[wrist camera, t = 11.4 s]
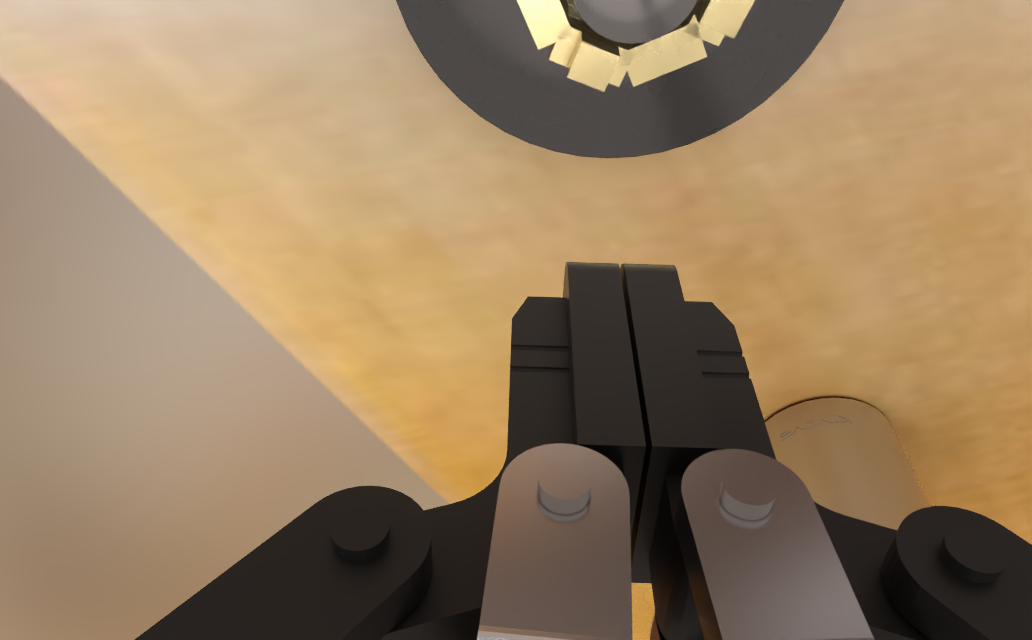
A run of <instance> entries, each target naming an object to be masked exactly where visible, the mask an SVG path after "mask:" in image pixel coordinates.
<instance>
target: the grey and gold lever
mask: <svg viewBox="0 0 1032 640" xmlns="http://www.w3.org/2000/svg"><path fill="white" fill-rule="evenodd" d="M754 1H755V0H697V3H696V4H695V6H694V8H693V9H692V11H691V12H690V14H689V15H688V16H687V17H686V19H685V20H684V21H683V22H682V23H681V24H680V25H679V26H677V27H676V28H675V29H674V30H672V31H671V32H669V33H667V34H666V35H664V36H662V37H660V38H657V39H655V40H652V41H648V42H643V43H632V44H631V43H621V42H617V41H613V40H610V39H608V38H606V37H604V36H602V35H600V34H598V33H597V32H596V31H594V30H593V29H592V28H591V27H590V26H589V25H588V24H587V23H586V22H585V21H584V20H583V18H582V17H581V15H580V14H579V12H578V10H577V8H576V6H575V3H574V0H517V2H518V4H519V6H520V8H521V11H522V13H523V15H524V18H525V20H526V22H527V25H528V27H529V29H530V32H531V34H532V36H533V39H534V41H535V43H536V46H537V48H538V50H539V49H541V48H544V47H546V46H548V56H549V60H551V61H553V62H556V63H558V64H561V65H563V66H566V74H567V78H570V79H572V80H575V81H577V82H580V83H583V84H585V85H588V86H590V87H593V88H595V89H598V90H601V91H603V92H604V91H605V89H606V87H607V85H608V83H610V84H612V85H615V86H617V87H619V86H620V84H621V82H622V80H623V78H624V76H625V74H626V71H628V74H629V77H630V79H631V82H632V85H633V87H634V86H637V85H639V84H642V83H644V82H647V81H649V80H652V79H654V78H656V77H659V76H661V75H664V74H666V73H669V72H671V71H674V70H676V69H679V68H681V67H684V66H686V65H688V64H691V63H693V62H696V61H698V60H701V59H703V58H706V57H707V54H706V51H705V48H704V45H703V42H702V40H704V41H707V42H709V43H712V44H714V45H717V46H719V45H720V43H721V41H722V39H723V38H724V36H725V35H726V36H729V37H731V38H735V36H736V34H737V33H738V31H739V29H740V27H741V25H742V23H743V21H744V20H745V18H746V16H747V14H748V12H749V10H750V9H751V7H752V5H753V3H754Z"/></svg>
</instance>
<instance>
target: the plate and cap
mask: <svg viewBox="0 0 1032 640" xmlns="http://www.w3.org/2000/svg"><path fill="white" fill-rule="evenodd" d="M396 1H397V4H398V6H399V9H400V11H401V13H402V16H403V18H404V21H405V23H406V26H407V28H408V30H409V32H410V34H411V35H412V37H413V39H414V41H415V42H416V44H417V46H418V48H419V50H420V51H421V53H422V55H423V56H424V58H425V59H426V60H427V62H428V63H429V64H430V66H431V67H432V69H433V70H434V71H435V73H436V74H437V75H438V77H439V78H440V79H441V80H442V81H443V82H444V83H445V84H446V86H447V87H448V88H449V89H450V90H451V91H452V92H453V93H454V94H455V95H456V96H457V97H458V98H459V99H460V100H461V101H462V102H463V103H465V104H466V105H467V106H468V107H470V108H471V109H472V110H473V111H474V112H476V113H477V114H478V115H479V116H481V117H482V118H484V119H485V120H487V121H488V122H490V123H491V124H493V125H495V126H496V127H498V128H499V129H501V130H503V131H504V132H506V133H508V134H511V135H513V136H515V137H517V138H519V139H521V140H523V141H526V142H528V143H530V144H533V145H537V146H540V147H543V148H546V149H549V150H552V151H556V152H561V153H566V154H571V155H576V156H583V157H598V158H620V157H636V156H642V155H648V154H654V153H660V152H664V151H667V150H671V149H674V148H677V147H681V146H684V145H688V144H690V143H693V142H695V141H697V140H700V139H702V138H705V137H707V136H709V135H712V134H714V133H716V132H718V131H720V130H721V129H723V128H725V127H727V126H728V125H730V124H732V123H734V122H736V121H737V120H739V119H741V118H742V117H744V116H745V115H746V114H748V113H749V112H750V111H752V110H753V109H755V108H756V107H757V106H759V105H760V104H762V103H763V102H764V101H766V100H767V99H768V98H769V97H770V96H771V95H772V94H773V93H774V92H776V91H777V90H778V89H779V88H780V87H781V86H782V85H783V84H784V83H786V82H787V81H788V80H789V78H790V77H791V76H792V75H793V74H794V73H795V72H796V71H797V69H798V68H799V67H800V66H801V65H802V64H803V63H804V62H805V61H806V59H807V58H808V57H809V56H810V54H811V53H812V51H813V50H814V49H815V47H816V46H817V44H818V43H819V42H820V40H821V39H822V37H823V36H824V35H825V33H826V32H827V30H828V28H829V27H830V25H831V23H832V21H833V19H834V18H835V16H836V14H837V12H838V11H839V9H840V7H841V5H842V3H843V1H844V0H755V1H754V3H753V5H752V7H751V9H750V10H749V12H748V14H747V16H746V18H745V20H744V21H743V23H742V25H741V27H740V29H739V31H738V33H737V34H736V36H735V38H731V37H729V36H726V35H725V36H724V38H723V39H722V41H721V43H720V45H719V46H717V45H714V44H712V43H709V42H707V41H704V40H702V42H703V45H704V48H705V51H706V54H707V57H706V58H703V59H701V60H698V61H696V62H693V63H691V64H688V65H686V66H684V67H681V68H679V69H676V70H674V71H671V72H669V73H666V74H664V75H661V76H659V77H656V78H654V79H652V80H649V81H647V82H644V83H642V84H639V85H637V86H634V87H633V85H632V82H631V79H630V77H629V74H628V71H626V74H625V76H624V78H623V80H622V82H621V84H620V86H619V87H617V86H615V85H612V84H610V83H608V85H607V87H606V89H605V91H604V92H603V91H601V90H598V89H595V88H593V87H590V86H588V85H585V84H583V83H580V82H577V81H575V80H572V79H570V78H567V74H566V66H563V65H561V64H558V63H556V62H553V61H551V60H549V56H548V46H546V47H544V48H541V49H539V50H538V48H537V46H536V43H535V41H534V39H533V36H532V34H531V32H530V29H529V27H528V25H527V22H526V20H525V18H524V15H523V13H522V11H521V8H520V6H519V4H518V2H517V0H396ZM574 3H575V6H576V8H577V10H578V12H579V14H580V15H581V17H582V18H583V20H584V21H585V22H586V23H587V24H588V25H589V26H590V27H591V28H592V29H593V30H594V31H596V32H597V33H598V34H600V35H602V36H604V37H606V38H608V39H610V40H613V41H617V42H621V43H631V44H632V43H643V42H648V41H652V40H655V39H657V38H660V37H662V36H664V35H666V34H667V33H669V32H671V31H672V30H674V29H675V28H676V27H677V26H679V25H680V24H681V23H682V22H683V21H684V20H685V19H686V17H687V16H688V15H689V14H690V12H691V11H692V9H693V8H694V6H695V4H696V3H697V0H574Z"/></svg>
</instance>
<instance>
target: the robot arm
mask: <svg viewBox="0 0 1032 640" xmlns="http://www.w3.org/2000/svg"><path fill="white" fill-rule="evenodd" d="M631 583H652V590H653V597H654V605H655V611H654V616H653V620H652V625H651V630H650V640H1032V545H1031V544H1029V543H1028V542H1026V541H1025V540H1023V539H1022V538H1020V537H1019V536H1017V535H1016V534H1014V533H1013V532H1011V531H1010V530H1008V529H1007V528H1005V527H1004V526H1002V525H1000V524H999V523H997V522H995V521H994V520H991V519H989V518H987V517H985V516H983V515H981V514H978V513H975V512H972V511H969V510H965V509H961V508H957V507H948V506H932V507H930V505H929V503H928V501H927V499H926V497H925V495H924V492H923V490H922V488H921V486H920V484H919V482H918V480H917V478H916V476H915V473H914V471H913V469H912V467H911V465H910V463H909V461H908V459H907V457H906V455H905V453H904V451H903V449H902V447H901V444H900V442H899V440H898V438H897V436H896V434H895V432H894V430H893V428H892V426H891V424H890V423H889V421H888V419H887V418H886V417H885V416H884V415H883V414H882V413H881V412H880V411H879V410H877V409H876V408H874V407H872V406H870V405H868V404H866V403H863V402H860V401H857V400H853V399H845V398H821V399H816V400H810V401H805V402H802V403H800V404H797V405H794V406H791V407H789V408H787V409H785V410H783V411H781V412H779V413H777V414H775V415H774V416H773V417H772V418H770V419H769V420H768V421H766V422H764V419H763V416H762V412H761V409H760V406H759V403H758V400H757V397H756V393H755V390H754V387H753V384H752V381H751V379H749V371H748V368H747V365H746V362H745V358H744V357H742V349H741V346H740V343H739V339H738V336H737V333H736V330H735V327H734V325H733V324H732V323H731V322H730V321H729V320H728V319H727V318H726V317H725V315H724V314H723V313H722V312H721V311H720V310H719V309H718V308H717V307H716V306H715V305H714V304H713V303H712V302H689V301H684V297H683V293H682V289H681V285H680V281H679V277H678V273H677V269H676V267H675V266H674V265H648V264H622V265H621V267H619V264H611V263H580V262H566V266H565V276H564V289H563V298H558V297H527V299H526V300H525V302H524V303H523V304H522V306H521V307H520V308H519V310H518V311H517V313H516V314H515V315H514V317H513V318H512V336H511V364H510V391H509V419H508V447H507V456H506V461H505V463H504V466H503V468H502V470H501V471H500V473H499V475H498V476H497V477H496V478H495V480H494V481H493V482H492V483H491V484H490V485H488V486H487V487H486V488H485V489H484V490H482V491H480V492H479V493H477V494H476V495H474V496H472V497H470V498H467V499H465V500H463V501H459V502H456V503H453V504H449V505H445V506H441V507H437V508H433V509H429V510H424V511H423V509H422V508H421V507H420V506H419V505H418V504H417V503H416V502H415V501H414V500H413V499H412V498H410V497H408V496H407V495H405V494H403V493H401V492H399V491H396V490H393V489H390V488H385V487H380V486H358V487H354V488H348V489H344V490H341V491H338V492H335V493H333V494H331V495H329V496H327V497H325V498H323V499H322V500H320V501H318V502H317V503H315V504H314V505H313V506H312V507H310V508H309V509H307V510H306V511H305V512H303V513H302V514H301V515H300V516H298V517H297V518H295V519H294V520H293V521H292V522H290V523H289V524H288V525H286V526H285V527H284V528H282V529H281V530H280V531H278V532H277V533H276V534H274V535H273V536H272V537H270V538H269V539H268V540H266V541H265V542H264V543H262V544H261V545H260V546H258V547H257V548H256V549H254V550H253V551H252V552H250V553H249V554H248V555H247V556H245V557H244V558H242V559H241V560H240V561H238V562H237V563H236V564H234V565H233V566H232V567H231V568H229V569H228V570H227V571H225V572H224V573H222V574H221V575H220V576H218V577H217V578H216V579H215V580H213V581H212V582H211V583H209V584H208V585H207V586H205V587H204V588H203V589H201V590H200V591H199V592H197V593H196V594H195V595H193V596H192V597H191V598H189V599H188V600H187V601H185V602H184V603H183V604H181V605H180V606H179V607H177V608H176V609H175V610H173V611H172V612H171V613H169V614H168V615H167V616H165V617H164V618H163V619H161V620H160V621H159V622H157V623H156V624H155V625H153V626H152V627H151V628H150V629H148V630H147V631H145V632H144V633H143V634H142V635H140V636H139V637H137V638H136V639H135V640H632V589H631Z"/></svg>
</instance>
